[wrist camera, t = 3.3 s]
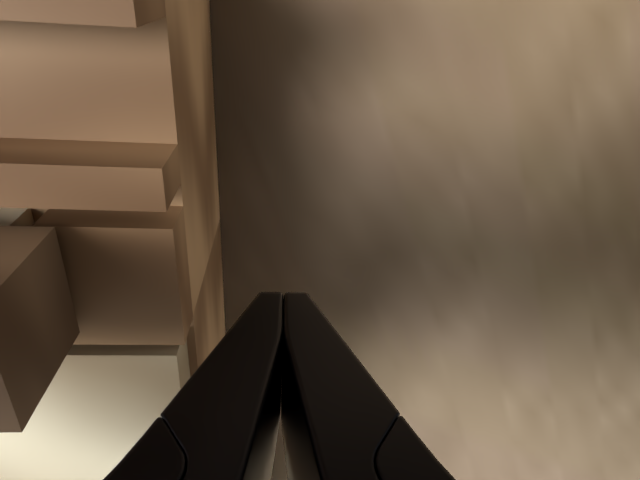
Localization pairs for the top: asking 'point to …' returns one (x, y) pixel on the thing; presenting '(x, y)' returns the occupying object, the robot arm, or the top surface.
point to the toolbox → (119, 161)
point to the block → (31, 320)
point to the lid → (92, 405)
